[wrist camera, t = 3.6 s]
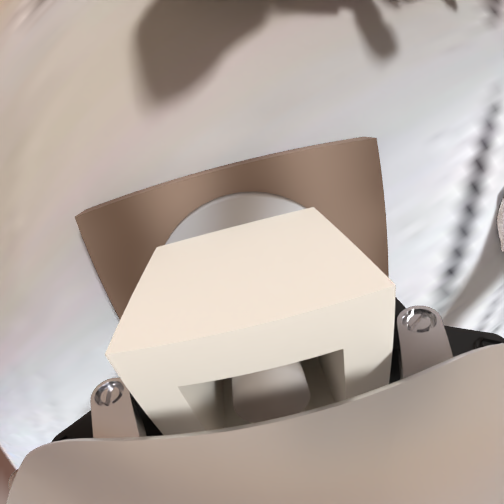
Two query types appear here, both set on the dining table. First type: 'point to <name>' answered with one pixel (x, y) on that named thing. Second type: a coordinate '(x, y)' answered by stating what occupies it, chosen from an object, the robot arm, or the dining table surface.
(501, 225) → the figurine
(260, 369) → the collar
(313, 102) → the dining table surface
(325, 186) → the workboard
